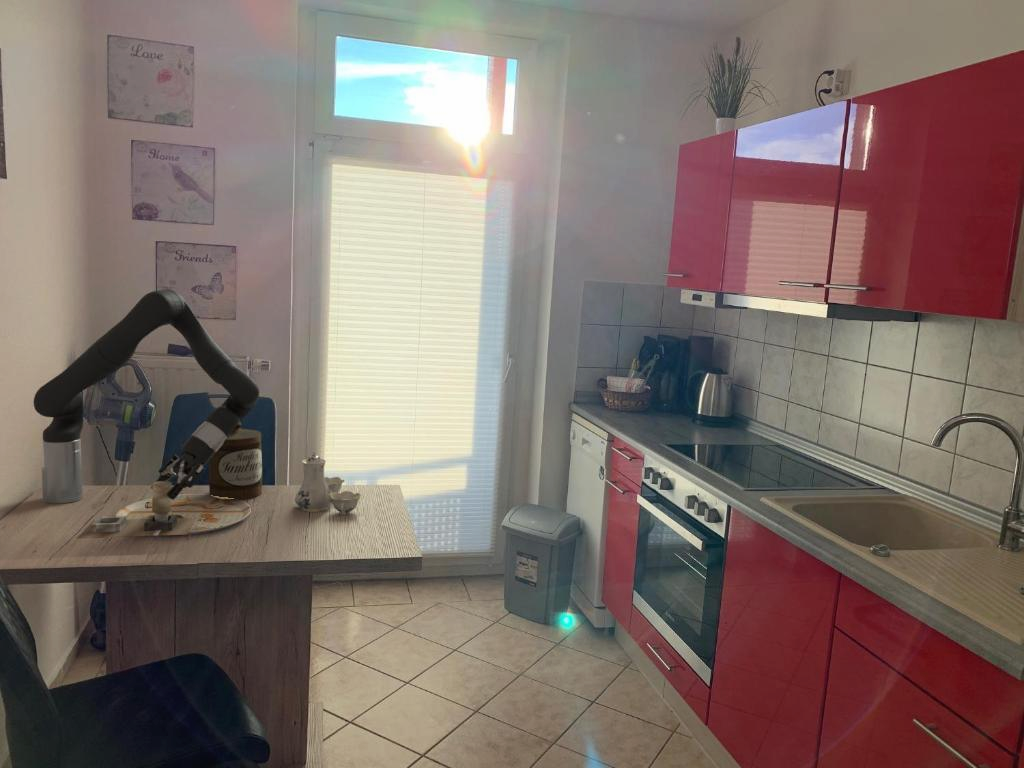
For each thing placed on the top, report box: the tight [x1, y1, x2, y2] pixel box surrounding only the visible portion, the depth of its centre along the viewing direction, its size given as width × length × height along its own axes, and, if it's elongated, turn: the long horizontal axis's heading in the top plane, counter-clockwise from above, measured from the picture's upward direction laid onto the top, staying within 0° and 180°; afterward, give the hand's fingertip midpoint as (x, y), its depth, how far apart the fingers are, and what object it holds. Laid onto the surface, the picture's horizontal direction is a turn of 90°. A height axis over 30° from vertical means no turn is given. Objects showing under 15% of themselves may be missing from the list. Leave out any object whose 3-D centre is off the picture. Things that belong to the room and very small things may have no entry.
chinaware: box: [294, 451, 362, 516], centre depth 231 cm, size 28×17×17 cm, turn 32°
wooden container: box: [208, 421, 263, 501], centre depth 240 cm, size 15×15×22 cm
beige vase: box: [151, 480, 173, 522], centre depth 204 cm, size 4×4×11 cm
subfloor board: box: [76, 511, 198, 541], centre depth 203 cm, size 25×14×4 cm, turn 102°
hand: (161, 494), depth 204 cm, fingers open, 8 cm apart
